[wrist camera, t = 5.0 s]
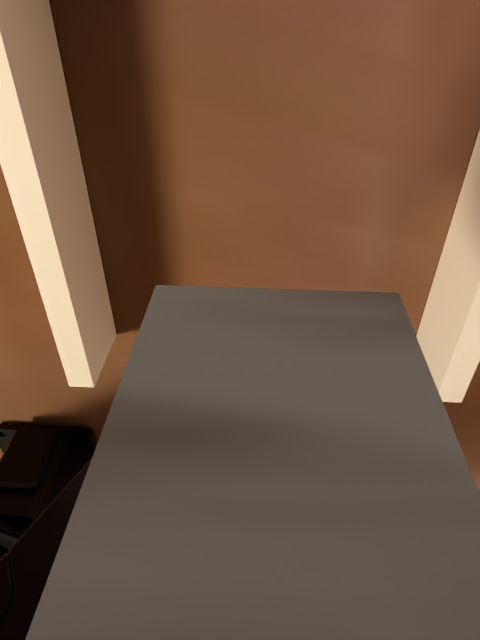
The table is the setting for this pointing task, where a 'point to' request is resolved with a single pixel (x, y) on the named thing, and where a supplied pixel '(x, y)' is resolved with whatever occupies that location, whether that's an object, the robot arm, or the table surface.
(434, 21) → the table surface
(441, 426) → the slate block
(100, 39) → the table surface
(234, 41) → the table surface
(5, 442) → the robot arm
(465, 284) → the open-sided box
